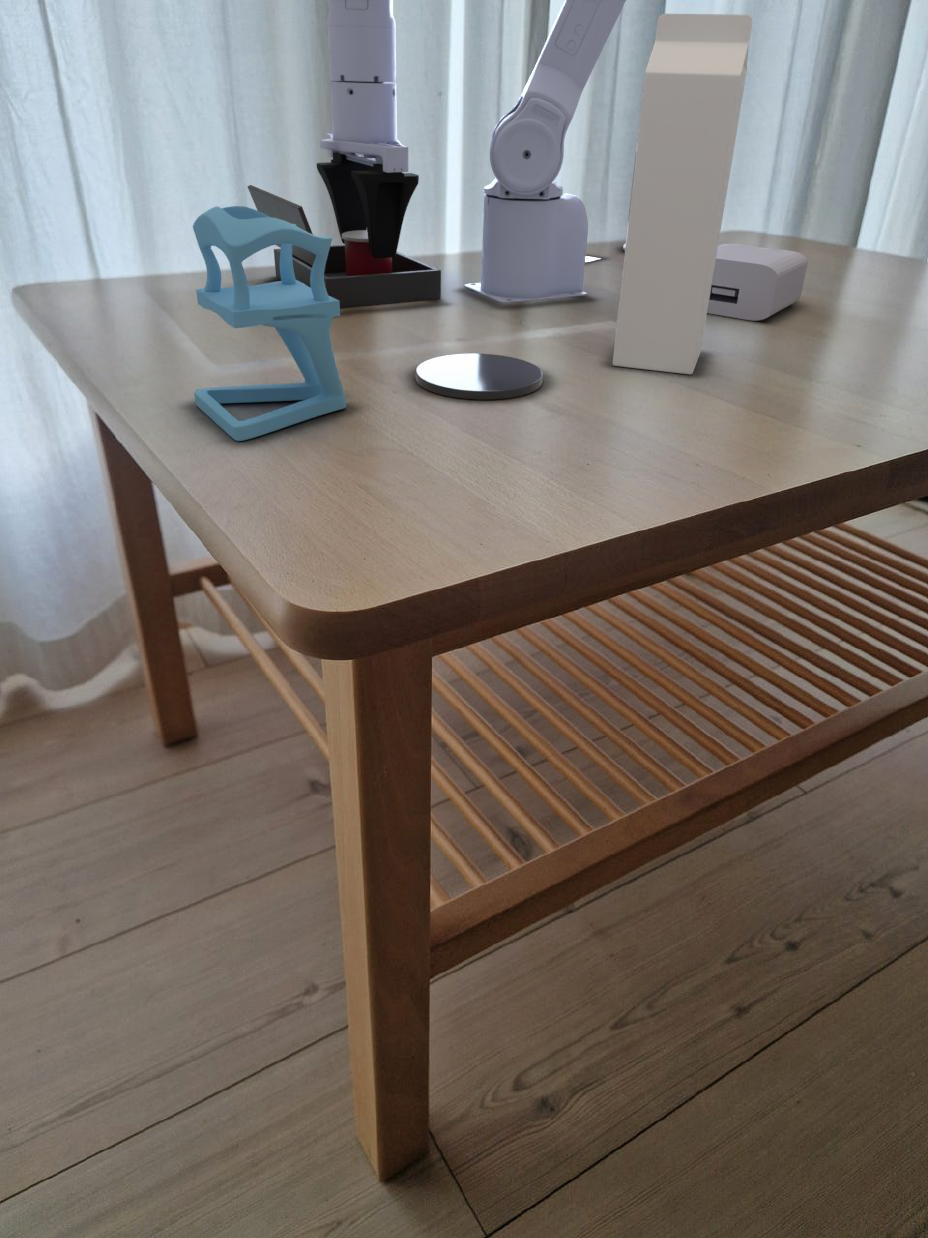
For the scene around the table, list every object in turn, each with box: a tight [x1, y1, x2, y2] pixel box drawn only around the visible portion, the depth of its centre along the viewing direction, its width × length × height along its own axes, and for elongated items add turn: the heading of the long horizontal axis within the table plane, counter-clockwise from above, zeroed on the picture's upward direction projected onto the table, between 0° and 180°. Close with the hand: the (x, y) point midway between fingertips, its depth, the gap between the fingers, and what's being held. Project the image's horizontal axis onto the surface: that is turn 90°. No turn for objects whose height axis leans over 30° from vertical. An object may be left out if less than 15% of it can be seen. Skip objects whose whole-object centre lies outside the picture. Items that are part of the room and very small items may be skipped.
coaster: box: [415, 353, 544, 401], centre depth 63 cm, size 9×9×1 cm
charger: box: [707, 242, 809, 322], centre depth 85 cm, size 5×9×15 cm
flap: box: [247, 184, 327, 271], centre depth 80 cm, size 5×15×1 cm
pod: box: [342, 229, 392, 276], centre depth 85 cm, size 5×5×5 cm
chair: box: [192, 205, 347, 442], centre depth 53 cm, size 8×8×12 cm
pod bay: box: [273, 244, 442, 310], centre depth 85 cm, size 11×15×3 cm
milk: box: [612, 13, 753, 375], centre depth 63 cm, size 6×6×22 cm
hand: (367, 249), depth 84 cm, fingers open, 7 cm apart
